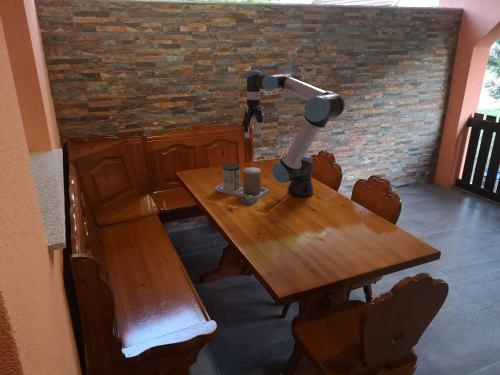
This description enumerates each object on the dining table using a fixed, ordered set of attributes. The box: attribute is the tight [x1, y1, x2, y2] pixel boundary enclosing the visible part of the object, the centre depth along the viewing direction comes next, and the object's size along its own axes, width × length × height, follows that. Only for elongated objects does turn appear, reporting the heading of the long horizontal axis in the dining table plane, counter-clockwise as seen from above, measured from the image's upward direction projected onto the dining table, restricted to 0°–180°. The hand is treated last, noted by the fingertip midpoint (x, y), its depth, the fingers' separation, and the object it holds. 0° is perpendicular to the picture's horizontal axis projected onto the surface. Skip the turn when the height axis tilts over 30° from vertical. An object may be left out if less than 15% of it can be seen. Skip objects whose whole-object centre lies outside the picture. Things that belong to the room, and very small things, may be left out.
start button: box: [245, 195, 253, 201], centre depth 201 cm, size 4×4×3 cm
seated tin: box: [242, 166, 262, 196], centre depth 211 cm, size 10×10×14 cm
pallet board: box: [213, 182, 270, 200], centre depth 217 cm, size 29×15×2 cm, turn 60°
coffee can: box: [222, 163, 241, 192], centre depth 218 cm, size 10×10×14 cm
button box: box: [239, 197, 259, 206], centre depth 202 cm, size 7×7×3 cm
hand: (252, 135), depth 217 cm, fingers open, 13 cm apart
